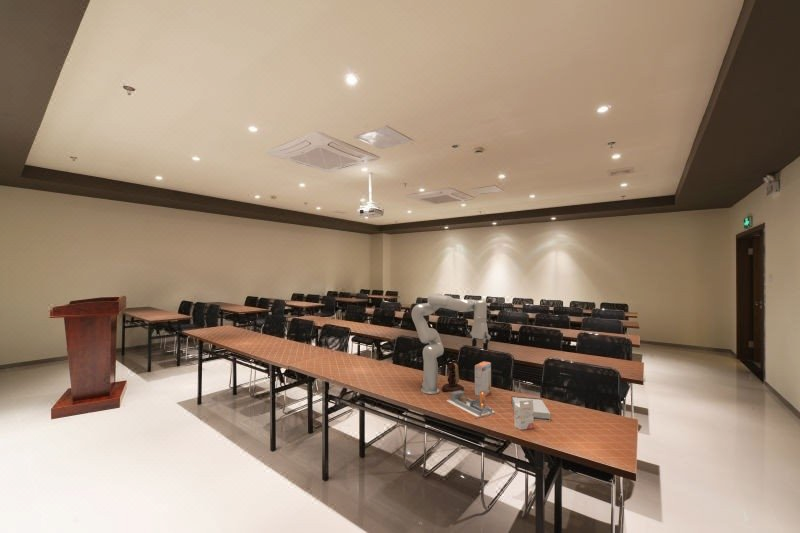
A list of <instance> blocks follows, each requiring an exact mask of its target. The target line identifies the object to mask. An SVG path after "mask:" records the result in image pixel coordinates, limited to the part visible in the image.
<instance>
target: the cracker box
mask: <svg viewBox="0 0 800 533" xmlns="http://www.w3.org/2000/svg"><path fill="white" fill-rule="evenodd" d="M480 391H483V392H485V398H486V397H487V396H489V395H490V394H491V393H492V362H489V361H484V360H483V361H481V362H479V363H477V364H475V365H474V395H475V396H478V397H480Z"/></svg>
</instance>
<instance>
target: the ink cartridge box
mask: <svg viewBox="0 0 800 533" xmlns="http://www.w3.org/2000/svg"><path fill="white" fill-rule="evenodd" d="M526 402H528V403H526ZM513 410H514V412H513V415H514V427H515V428H516V429H518V430H519V431H520V430H531V429H534V420H533V400H524V401H520V403H519V404H514V408H513Z"/></svg>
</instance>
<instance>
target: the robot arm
mask: <svg viewBox="0 0 800 533" xmlns="http://www.w3.org/2000/svg"><path fill="white" fill-rule="evenodd" d="M487 306H488V304H487V301H485V300H480V299H479V300H476V299H470V298H469V299H468V298H467V299H459V298H455V297H452V296H451V295H445V294H442V293H431V294H430V295H428V297H427V302H425V303H419V304H416V305H415V306H414V307H413V308H412V310H411V318H412V321H413V323H414V326H415V329H416V332H417V335H418V338H419V341H420V342H421V343H422V344H427V345H425V346H424V347H423V349H422V359H423V379H422V380H423V382H422V383H421V386H422V387H421V389H420V392H421V393H422V394H426V395H437V394H439V393H440V389H439V388H438V373H439V372H438V371H439V370H438V365H439V364H438V361H437V358H439V357H440V356H443V354H444V351H445V349H444V345H443V342H442V340H441V339H442V338H441V336H440V334H439V332H438V330H436V329H435V328H432V327H429V325H428V322H427V320H426V318H425V317H424V316H430V315H432V314H434V313H435V312H437V311H438V310H439V309H440V308H443V309H446V310H447V309H448V310H451V311H457V312H463V313H467V312H473V322H472V326H471V331H469V335H470V338H471V346H472V347H477V346H478V345H477V343H478V342H477V340H482V341H483V343H482V344H483V346H482V348H483V350H488V348H489V344H488V343H490V340H491V338H492V337H491V335H490V334H489V330H488V323H487V308H488V307H487Z"/></svg>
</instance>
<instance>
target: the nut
mask: <svg viewBox="0 0 800 533" xmlns="http://www.w3.org/2000/svg"><path fill="white" fill-rule="evenodd" d="M466 397H467V396H466V395H465V396H464V395H463V396H461V397H460V401H461V402H463V403H466V402H467V398H468V397H467V398H466Z"/></svg>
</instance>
